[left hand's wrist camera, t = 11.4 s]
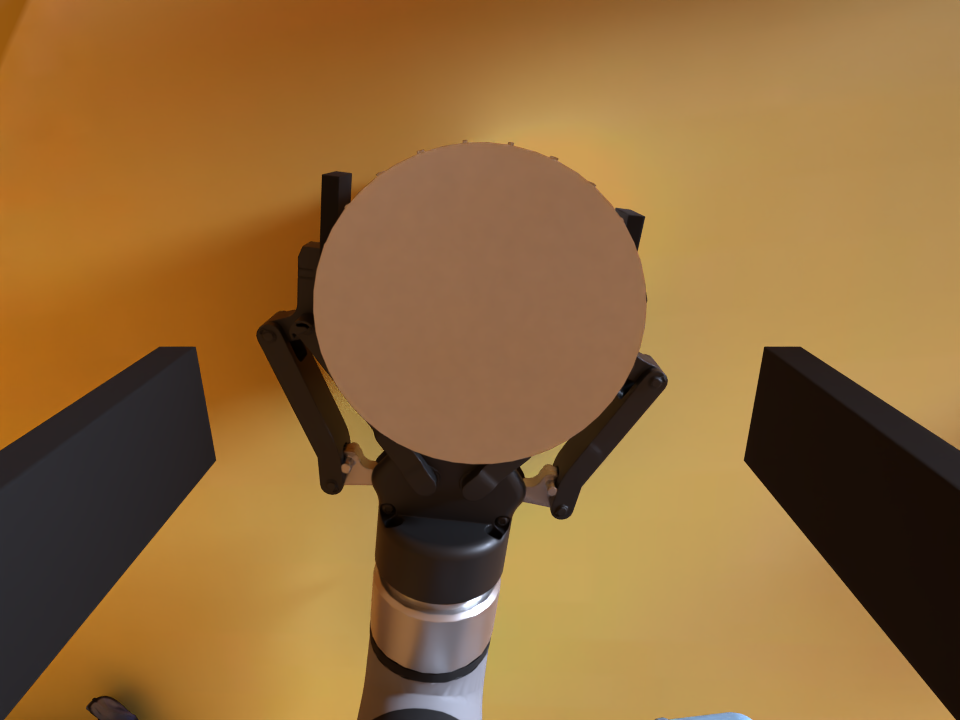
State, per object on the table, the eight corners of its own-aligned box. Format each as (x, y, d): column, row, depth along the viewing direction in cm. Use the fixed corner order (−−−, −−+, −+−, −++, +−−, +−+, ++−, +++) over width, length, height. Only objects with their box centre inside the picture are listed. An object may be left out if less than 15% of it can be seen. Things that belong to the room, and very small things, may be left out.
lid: (555, 75, 18) (563, 68, 16) (678, 365, 21) (696, 385, 20) (264, 237, 20) (244, 247, 18) (421, 482, 23) (416, 510, 21)
